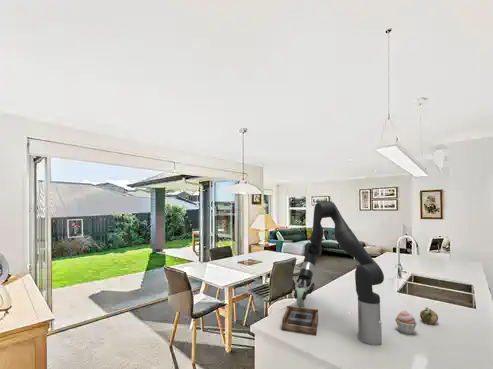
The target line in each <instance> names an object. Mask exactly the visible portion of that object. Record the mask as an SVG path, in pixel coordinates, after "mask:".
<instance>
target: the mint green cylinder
mask: <svg viewBox="0 0 493 369" xmlns="http://www.w3.org/2000/svg"><path fill="white" fill-rule="evenodd" d="M297 284H298V283H297ZM296 287H297V286H296ZM303 293H304V287H303V285H302V284H298V287H297V299H296V307H302V308H305V299H304V300H303V299H302V296H303Z"/></svg>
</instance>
